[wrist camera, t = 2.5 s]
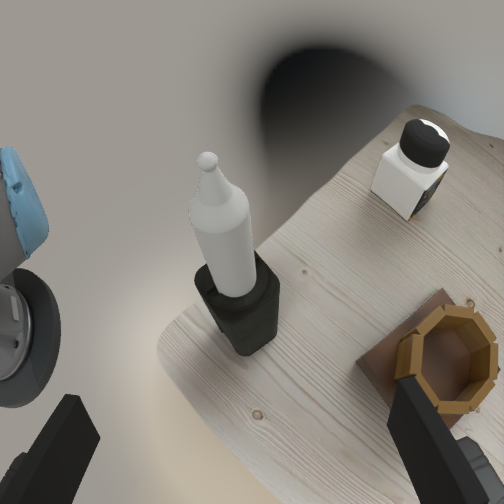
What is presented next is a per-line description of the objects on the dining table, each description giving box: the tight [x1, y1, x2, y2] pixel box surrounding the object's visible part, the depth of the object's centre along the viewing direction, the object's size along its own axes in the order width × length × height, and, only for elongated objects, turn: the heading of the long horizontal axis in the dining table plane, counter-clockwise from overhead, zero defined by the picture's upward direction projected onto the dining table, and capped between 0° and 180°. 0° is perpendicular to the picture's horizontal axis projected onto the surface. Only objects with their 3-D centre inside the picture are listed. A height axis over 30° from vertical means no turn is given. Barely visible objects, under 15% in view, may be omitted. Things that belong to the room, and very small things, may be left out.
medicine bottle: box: [371, 119, 450, 221], centre depth 36 cm, size 7×7×12 cm
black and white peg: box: [188, 152, 280, 356], centre depth 23 cm, size 5×5×25 cm
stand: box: [356, 288, 500, 430], centre depth 27 cm, size 13×13×6 cm
